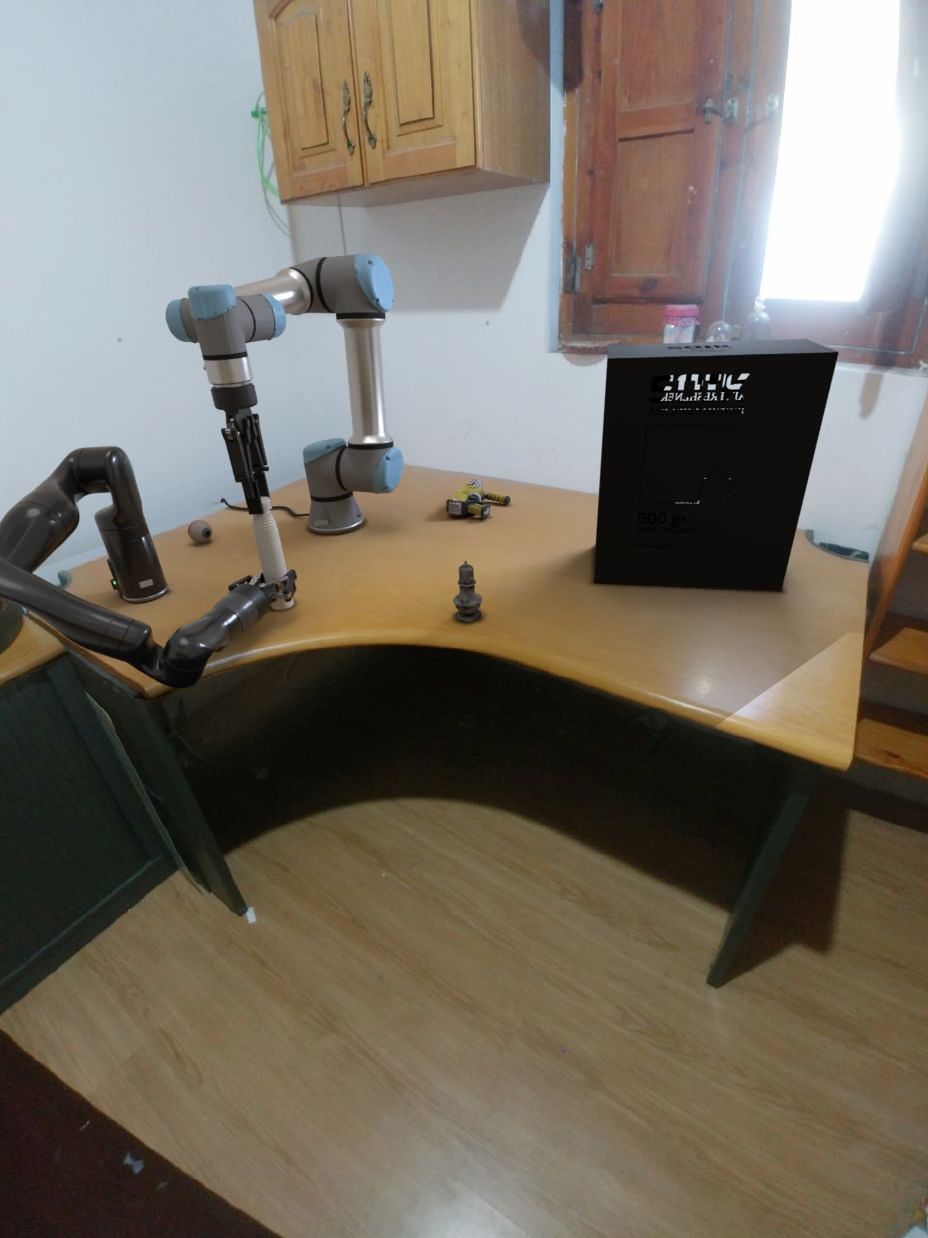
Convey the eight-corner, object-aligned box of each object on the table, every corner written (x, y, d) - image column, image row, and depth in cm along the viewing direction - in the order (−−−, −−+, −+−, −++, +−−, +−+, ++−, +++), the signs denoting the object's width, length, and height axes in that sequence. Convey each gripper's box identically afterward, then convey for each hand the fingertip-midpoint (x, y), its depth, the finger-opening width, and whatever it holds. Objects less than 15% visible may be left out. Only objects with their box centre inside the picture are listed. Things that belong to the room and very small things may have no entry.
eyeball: (201, 547, 160) (195, 526, 157) (186, 543, 163) (180, 522, 160) (220, 539, 164) (214, 518, 161) (205, 536, 167) (199, 515, 164)
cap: (244, 510, 119) (242, 501, 118) (264, 503, 121) (262, 494, 121) (256, 514, 116) (254, 505, 115) (276, 507, 119) (274, 498, 118)
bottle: (290, 597, 132) (268, 497, 121) (296, 606, 129) (274, 503, 117) (269, 603, 130) (244, 501, 119) (274, 612, 127) (249, 508, 115)
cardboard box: (760, 550, 140) (805, 338, 118) (781, 591, 123) (838, 351, 101) (595, 545, 148) (608, 345, 125) (593, 582, 131) (607, 358, 108)
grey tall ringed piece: (480, 623, 118) (477, 567, 112) (451, 621, 119) (447, 566, 113) (485, 608, 123) (483, 554, 117) (457, 607, 124) (453, 553, 118)
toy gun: (518, 484, 183) (472, 477, 187) (496, 507, 163) (444, 499, 167) (517, 499, 185) (471, 492, 189) (494, 524, 165) (443, 515, 169)
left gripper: (211, 625, 118) (257, 585, 132) (276, 631, 115) (316, 590, 129) (200, 591, 114) (249, 554, 128) (268, 596, 111) (310, 558, 125)
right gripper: (228, 377, 115) (256, 495, 126) (190, 393, 100) (225, 526, 111) (267, 375, 114) (291, 494, 126) (235, 391, 99) (265, 524, 111)
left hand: (282, 572), depth 129 cm, fingers closed on bottle, 4 cm apart
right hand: (260, 509), depth 119 cm, fingers closed on cap, 4 cm apart
